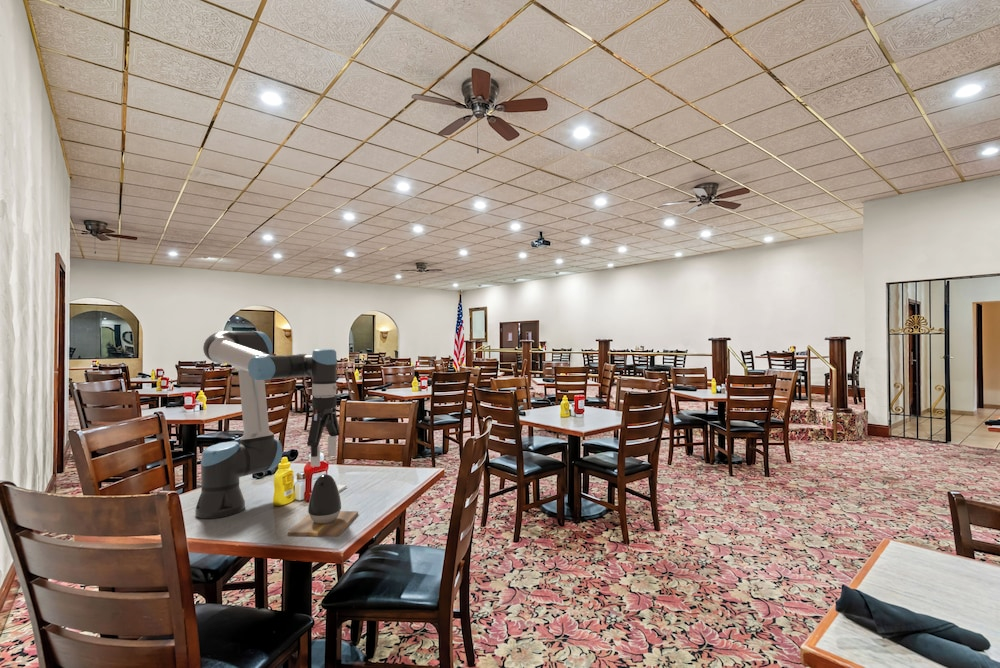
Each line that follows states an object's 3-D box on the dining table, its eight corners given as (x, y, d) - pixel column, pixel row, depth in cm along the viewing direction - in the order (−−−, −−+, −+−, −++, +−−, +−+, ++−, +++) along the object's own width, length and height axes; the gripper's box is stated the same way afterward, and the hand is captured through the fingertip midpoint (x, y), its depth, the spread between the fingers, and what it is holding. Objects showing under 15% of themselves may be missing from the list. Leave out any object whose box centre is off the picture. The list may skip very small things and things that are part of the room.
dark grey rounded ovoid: (303, 527, 150) (302, 479, 151) (314, 515, 161) (314, 470, 161) (335, 527, 151) (335, 479, 151) (345, 514, 161) (345, 470, 161)
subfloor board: (287, 535, 147) (287, 532, 147) (312, 513, 165) (312, 510, 165) (338, 536, 146) (338, 532, 146) (357, 514, 164) (357, 511, 164)
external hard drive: (311, 498, 183) (328, 487, 195) (331, 499, 182) (346, 488, 194) (311, 493, 183) (328, 483, 195) (331, 494, 182) (346, 484, 194)
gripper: (319, 401, 143) (319, 471, 143) (349, 391, 168) (348, 451, 168) (295, 401, 144) (295, 471, 144) (328, 391, 168) (327, 450, 168)
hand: (324, 460), depth 156 cm, fingers open, 13 cm apart
